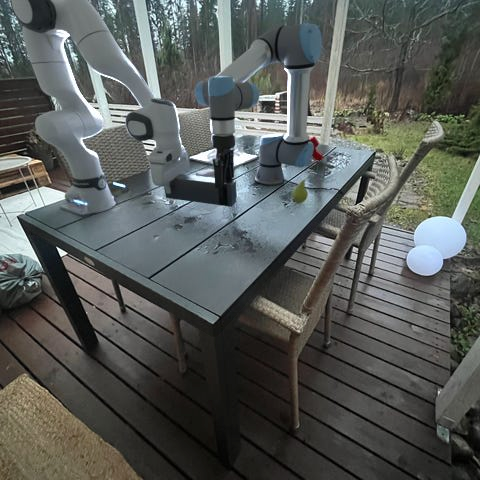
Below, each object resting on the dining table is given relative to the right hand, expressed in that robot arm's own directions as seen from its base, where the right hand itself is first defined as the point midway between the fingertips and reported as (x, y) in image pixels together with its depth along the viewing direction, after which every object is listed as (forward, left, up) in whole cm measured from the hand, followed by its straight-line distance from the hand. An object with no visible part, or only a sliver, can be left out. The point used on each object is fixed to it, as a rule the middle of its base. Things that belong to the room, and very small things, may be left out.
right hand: (225, 201), depth 97 cm
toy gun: (-18, -95, -11) cm, 97 cm away
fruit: (-23, -31, -11) cm, 40 cm away
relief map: (+34, -84, -11) cm, 91 cm away
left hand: (+20, 0, +2) cm, 20 cm away
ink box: (+19, -25, -11) cm, 33 cm away
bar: (+10, 0, -1) cm, 10 cm away
